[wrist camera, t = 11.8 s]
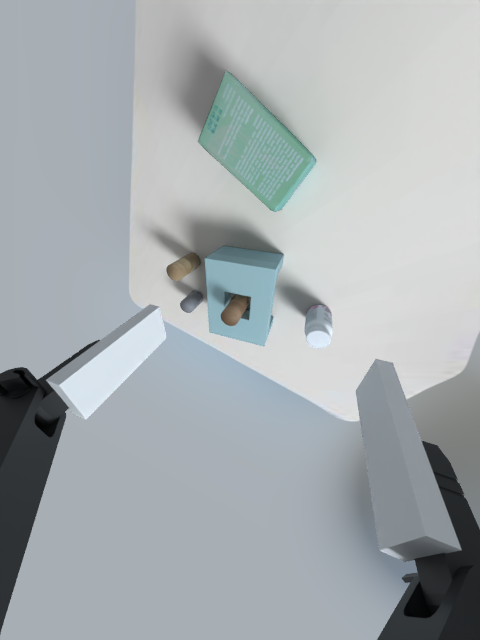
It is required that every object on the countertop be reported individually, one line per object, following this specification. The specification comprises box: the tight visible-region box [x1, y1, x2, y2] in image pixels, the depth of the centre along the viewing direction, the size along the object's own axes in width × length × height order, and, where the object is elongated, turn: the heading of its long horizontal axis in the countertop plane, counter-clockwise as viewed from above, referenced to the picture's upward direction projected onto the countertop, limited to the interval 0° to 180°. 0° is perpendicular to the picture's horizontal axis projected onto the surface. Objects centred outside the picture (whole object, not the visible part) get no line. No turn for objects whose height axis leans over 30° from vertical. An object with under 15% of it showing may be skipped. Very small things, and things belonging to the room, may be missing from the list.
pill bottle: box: [305, 305, 332, 348], centre depth 38 cm, size 5×5×8 cm
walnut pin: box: [221, 294, 251, 326], centre depth 38 cm, size 3×3×12 cm
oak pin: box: [167, 253, 200, 281], centre depth 41 cm, size 3×3×8 cm
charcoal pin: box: [180, 291, 203, 313], centre depth 47 cm, size 3×3×5 cm
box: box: [198, 71, 316, 212], centre depth 27 cm, size 7×14×8 cm, turn 55°
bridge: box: [205, 246, 284, 346], centre depth 40 cm, size 16×12×8 cm
